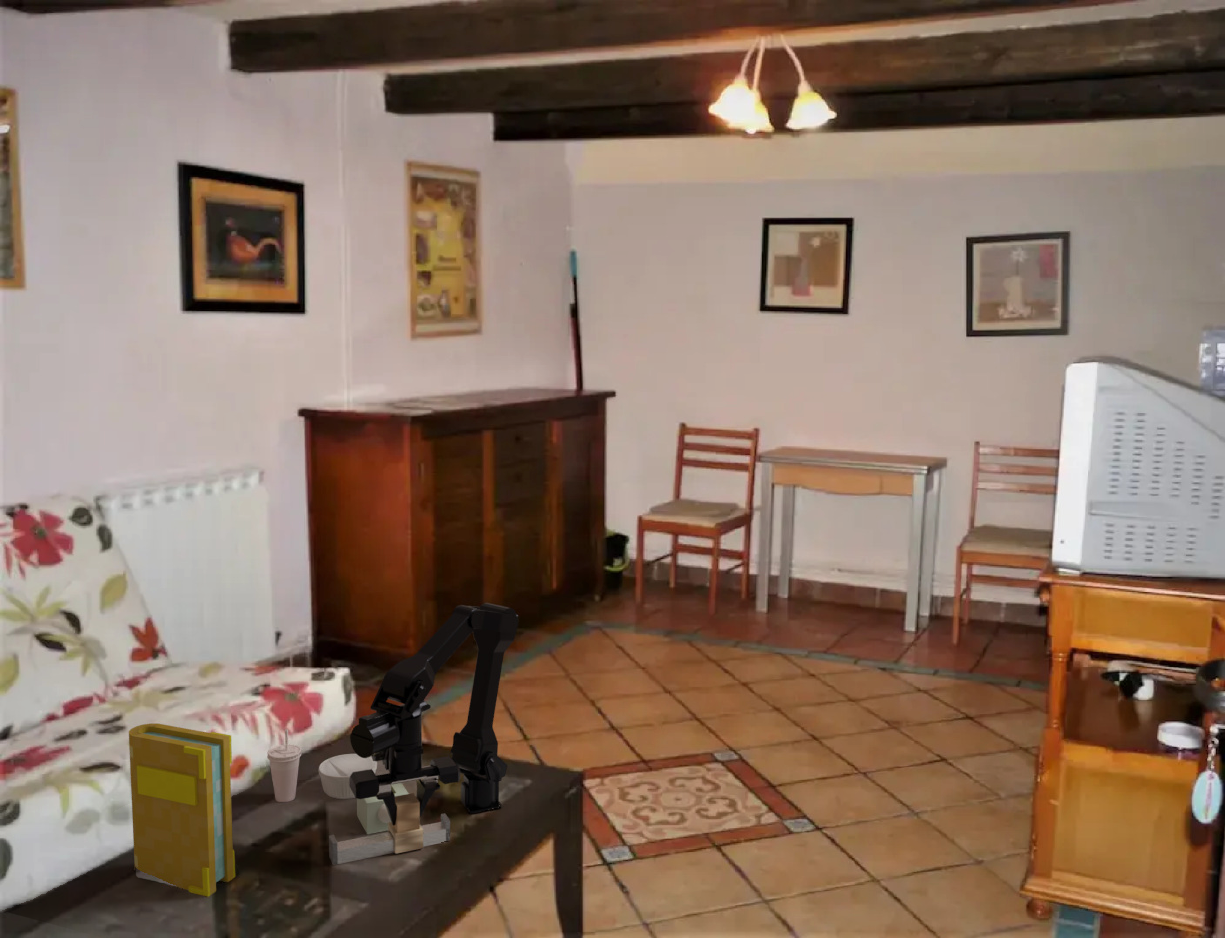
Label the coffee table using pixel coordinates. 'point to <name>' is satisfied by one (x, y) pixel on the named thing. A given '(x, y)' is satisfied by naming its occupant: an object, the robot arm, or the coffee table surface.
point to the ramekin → (342, 773)
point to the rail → (383, 843)
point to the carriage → (407, 824)
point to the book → (182, 806)
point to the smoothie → (284, 769)
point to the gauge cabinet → (376, 811)
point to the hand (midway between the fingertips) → (405, 822)
